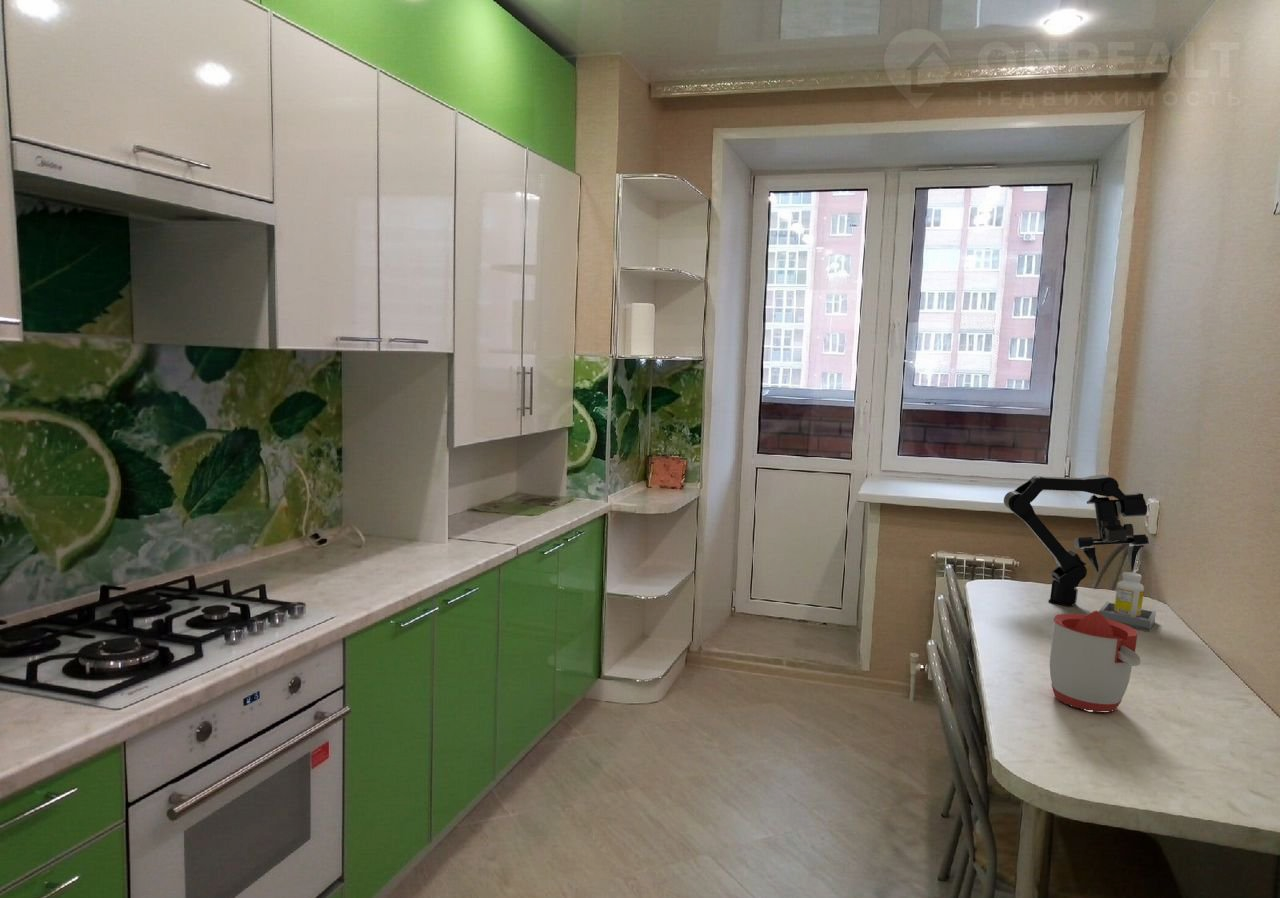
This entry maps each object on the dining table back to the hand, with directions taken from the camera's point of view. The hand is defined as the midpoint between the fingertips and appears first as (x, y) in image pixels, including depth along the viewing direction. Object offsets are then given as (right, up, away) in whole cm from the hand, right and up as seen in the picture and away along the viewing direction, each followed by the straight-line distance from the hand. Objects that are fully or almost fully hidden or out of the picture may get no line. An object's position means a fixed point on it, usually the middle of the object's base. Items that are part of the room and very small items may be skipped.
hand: (1114, 571), depth 251 cm
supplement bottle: (-1, -13, -7) cm, 14 cm away
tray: (-1, -13, -7) cm, 15 cm away
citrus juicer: (-45, -18, -71) cm, 86 cm away
